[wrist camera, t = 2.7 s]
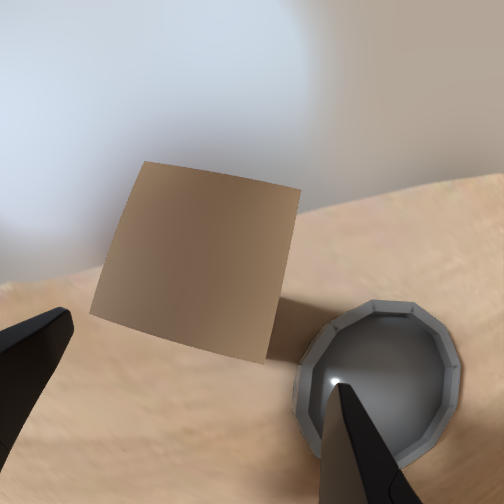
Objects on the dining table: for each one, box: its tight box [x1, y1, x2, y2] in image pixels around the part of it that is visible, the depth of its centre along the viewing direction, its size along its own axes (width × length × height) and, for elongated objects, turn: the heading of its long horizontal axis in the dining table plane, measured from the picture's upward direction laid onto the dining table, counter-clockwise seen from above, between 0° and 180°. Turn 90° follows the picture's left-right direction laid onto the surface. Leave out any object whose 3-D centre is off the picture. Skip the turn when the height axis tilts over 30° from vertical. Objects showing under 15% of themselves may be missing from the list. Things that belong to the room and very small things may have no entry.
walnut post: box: [89, 161, 301, 364], centre depth 13 cm, size 4×4×13 cm
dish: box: [292, 300, 461, 469], centre depth 17 cm, size 11×11×2 cm
